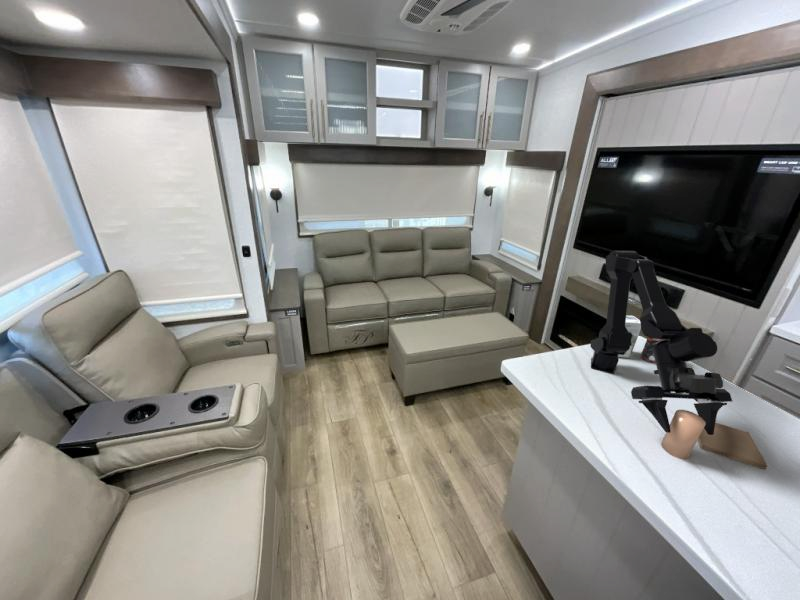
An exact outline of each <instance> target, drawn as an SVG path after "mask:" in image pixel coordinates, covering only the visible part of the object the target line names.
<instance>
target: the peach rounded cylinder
mask: <svg viewBox="0 0 800 600" xmlns="http://www.w3.org/2000/svg"><path fill="white" fill-rule="evenodd" d="M669 424H670V431H671V432H670V433H667V432H665V434H664V437H663V438H662V440H661V443H660V446H661V448H662V449H663V450H664V451H665V452H666V453H667V454H669V455H670V456H672V457H675V458H677V459H685V460H686V459H689V456H690V455H691V453H692V451H693V449H694V447H695V446H696V444H697V442H698V438H699V436H700V434H701V432H702V430H703V428H704V426H705V424H706V423H705V421H704V420H703V419H702V418H701V417H700V416H699V415H698V413H694V412H692V411H689V410H686V409H677V410H675V412H674V415H673V417H672V419H671V421H670V422H669Z"/></svg>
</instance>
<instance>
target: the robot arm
mask: <svg viewBox="0 0 800 600" xmlns="http://www.w3.org/2000/svg"><path fill="white" fill-rule="evenodd" d="M655 266H656V265H655V262H654V261H653V260H651V259H648V257H647V256H643V255H640V254H639V253H638V252H637V251H635V250H612V251H611V252H609V253H608V254H607V256H605V271H606V273H607V275H608V276H609V278H610V284H609V285H610V287H609V295H608V296H609V297H608V305H607V315H606V316H607V317H606V323H604V326H603V327H602V328H601V329H600V330H599V333H598V337H596V338H594V339H592V340H590V344H589V346H590V348H591V350H593V354H592V357H591V358H590V368H591V369H593V370H597V371H601V372H604V373H608V374H613V375H614V373H615V372H614V371H615V370H616V369H617V367H618V363H619V362H620V361H619V358H620V357H618V355H624V354H625V353H626V352H627V350H629V348H630V346H631V339H632V333H631V332H628V330H627V328H626V327H625V322H626V316H627V315H628V314H627V313H628V304H629V303H628V302H629V294H630V288H631V287H630V286H631V281H632V279H633V282H634V284H635V288H636V292H637V295H638V298H639V302H640V305H641V308H642V312H641V315H640V317H639V320H640V323H641V330H640V331H641V332H642V334H643V335H644V336H645V337H647V338H648V337H649V338H656V339H669V340H663V341H651V342H650V344H649V345H648V346H647V348H646V349H647V350H653V354H654V358H655V362H656V363H655V365H656V370H655V369H654V370H653V372H654V373H653V374H654V375H658V377H659V383H660V385H640V386H635V387H634V386H633V387H632V389H631V391H630V393H631V394H630V395H631V399H632V400H638V404H642V405H643V406H644V407H645V408H646V410H648V411H649V413H650V414H651V416H653V418H654V419H655V420H656V421H657V423H658V424H659V425H660V428H661V429H662V430H663V431H664V432H665V433H666V432H667V433H670V432H671V431H670V421H669V417H668V413H667V404H668V399H687V400H695V402H697V403H693V406H694V409H695V410H696V412H697V413H696V414H697V415H698V416H700V417H701V418H702V419H703V420H704V421H705V423H706V424H705V426H704V429H705V430H706V432H707V434H708V435H713V434H714V428H715V423H717V422H716V421H717V416H718V412H719V410H720V409H721V408H723V406H728V403H729V402H733V398H732V395H731V393H730V392H729V391H728V390H726V389H725V388H723V387H724V381H723V379H722V375H721V374H720V373H717V372H705V373H704V374H703V375H699V374H697V373H695V370H694V369H693V367H688V365H687V362H693V361H697V360H702V359H706V358H711V357H713V356H715V355H716V354H717V352H718V344H717V343H716V342H717V341H714V339H713V337H712V336H710V335H709V334H707V333H705V332H703V329H702V327H689V328H687V327H686V326H685V325H684V324H682V322H681V319H680V318H679V316H678V314H677V313H676V312H675V311H674V310H673V309H672V308H670V306H668V305H667V303H666V301H665V297H664V295H663V291H662V289H661V286H660V284H659V279H658V278H657V276H656V272H655ZM663 398H664V399H663ZM665 398H666V399H665Z"/></svg>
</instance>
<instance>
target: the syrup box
mask: <svg viewBox="0 0 800 600" xmlns="http://www.w3.org/2000/svg"><path fill="white" fill-rule="evenodd" d="M625 327H626V328H627V330H628V332H631V333H632V339H631V346H630V348H629V350H627V352H626V353H625V354H624V355H618V358H624V359H625V358H627V359H630V358H631V356H632V353H633V350H634V349H635V346H636V344H637V343H636V342H637V339H638V338H639V334H640V333H641V331H642V330H641V323H640V318H639V319H638V318H637V316H634V315H626V322H625Z"/></svg>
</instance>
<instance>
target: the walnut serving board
mask: <svg viewBox="0 0 800 600" xmlns="http://www.w3.org/2000/svg"><path fill="white" fill-rule="evenodd" d="M697 442H698V444H699V447H700V449H701V450H704V451H707V452H711V453H713V454H717V455H719V456H722V457H726V458H729V459H732V460H735V461H738V462H741V463H744V464H747V465H750V466H753V467H757V468H759V469H762V470H766V469H767V468H768V464H767V462H766V460H765V458H764V457H763V455H762V453H761V451H760V450H759V447H758V446H757V443H755V440H754V439H753V436H752V435H751V433H750V432H749V431H745V430H742V429H739V428H736V427H732V426H730V425H726V424H723V423H718V422H715V428H714V434H713V435H708V434H707V432H706V430H705V429H704V428H703V430H702V432H701V434H700V436H699V438H698V440H697Z"/></svg>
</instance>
